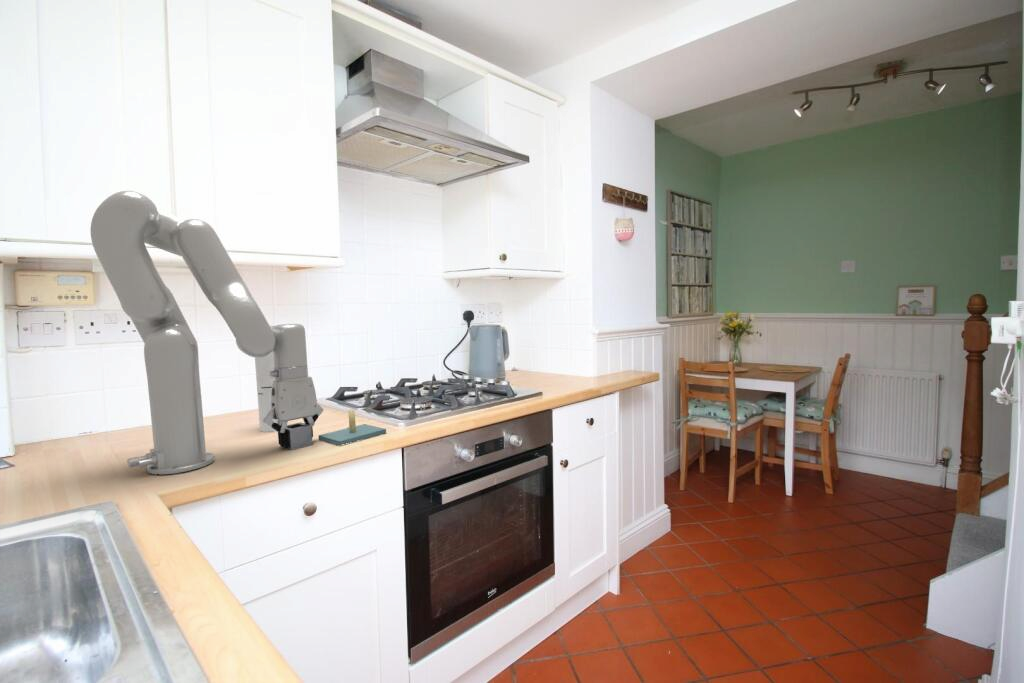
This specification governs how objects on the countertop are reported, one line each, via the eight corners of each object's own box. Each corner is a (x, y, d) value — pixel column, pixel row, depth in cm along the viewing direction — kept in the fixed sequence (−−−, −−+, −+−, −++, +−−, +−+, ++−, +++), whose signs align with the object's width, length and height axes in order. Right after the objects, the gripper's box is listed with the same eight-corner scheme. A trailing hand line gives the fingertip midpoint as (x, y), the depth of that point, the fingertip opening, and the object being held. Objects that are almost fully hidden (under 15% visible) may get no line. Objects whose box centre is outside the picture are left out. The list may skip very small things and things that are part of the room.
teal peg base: (339, 446, 121) (338, 417, 121) (318, 439, 128) (316, 412, 127) (386, 433, 132) (384, 407, 132) (364, 428, 139) (363, 403, 138)
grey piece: (280, 431, 138) (273, 343, 136) (255, 432, 138) (248, 344, 136) (291, 425, 145) (286, 341, 143) (268, 425, 145) (262, 342, 143)
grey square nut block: (291, 450, 119) (289, 430, 119) (280, 446, 123) (279, 426, 122) (312, 444, 124) (311, 425, 123) (301, 441, 127) (300, 422, 127)
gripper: (263, 379, 113) (268, 455, 114) (331, 369, 126) (335, 438, 127) (249, 377, 117) (254, 450, 119) (316, 368, 131) (320, 434, 132)
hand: (296, 443), depth 123 cm, fingers closed on grey square nut block, 5 cm apart
